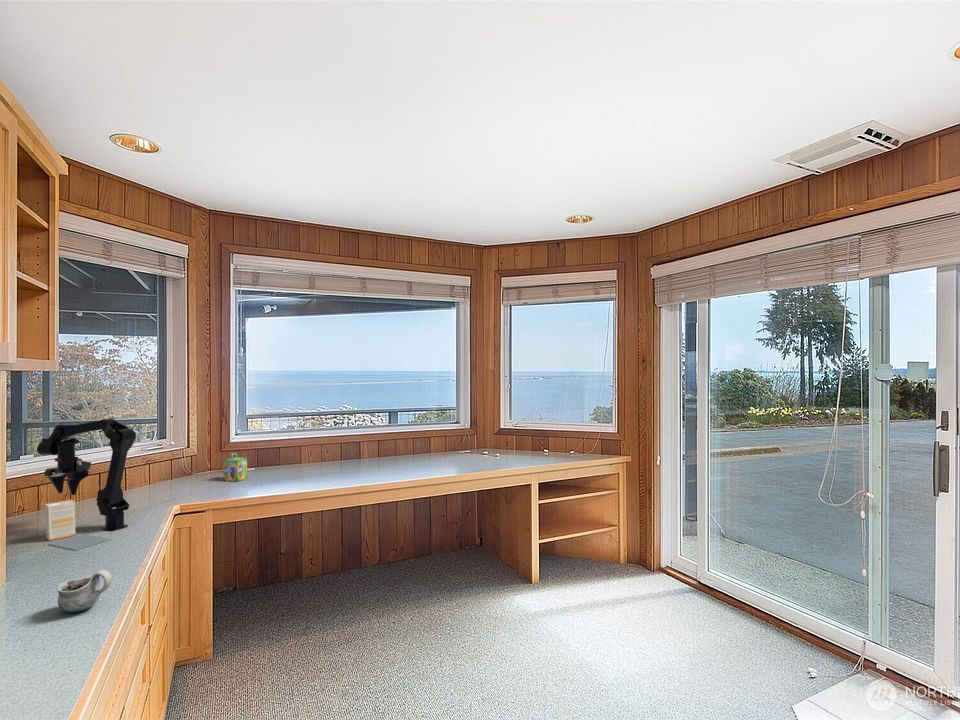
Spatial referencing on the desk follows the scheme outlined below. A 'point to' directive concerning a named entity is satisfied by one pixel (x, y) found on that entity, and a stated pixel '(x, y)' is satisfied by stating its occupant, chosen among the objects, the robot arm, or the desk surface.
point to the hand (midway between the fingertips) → (67, 494)
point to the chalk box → (234, 468)
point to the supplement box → (60, 519)
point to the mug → (82, 592)
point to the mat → (79, 542)
